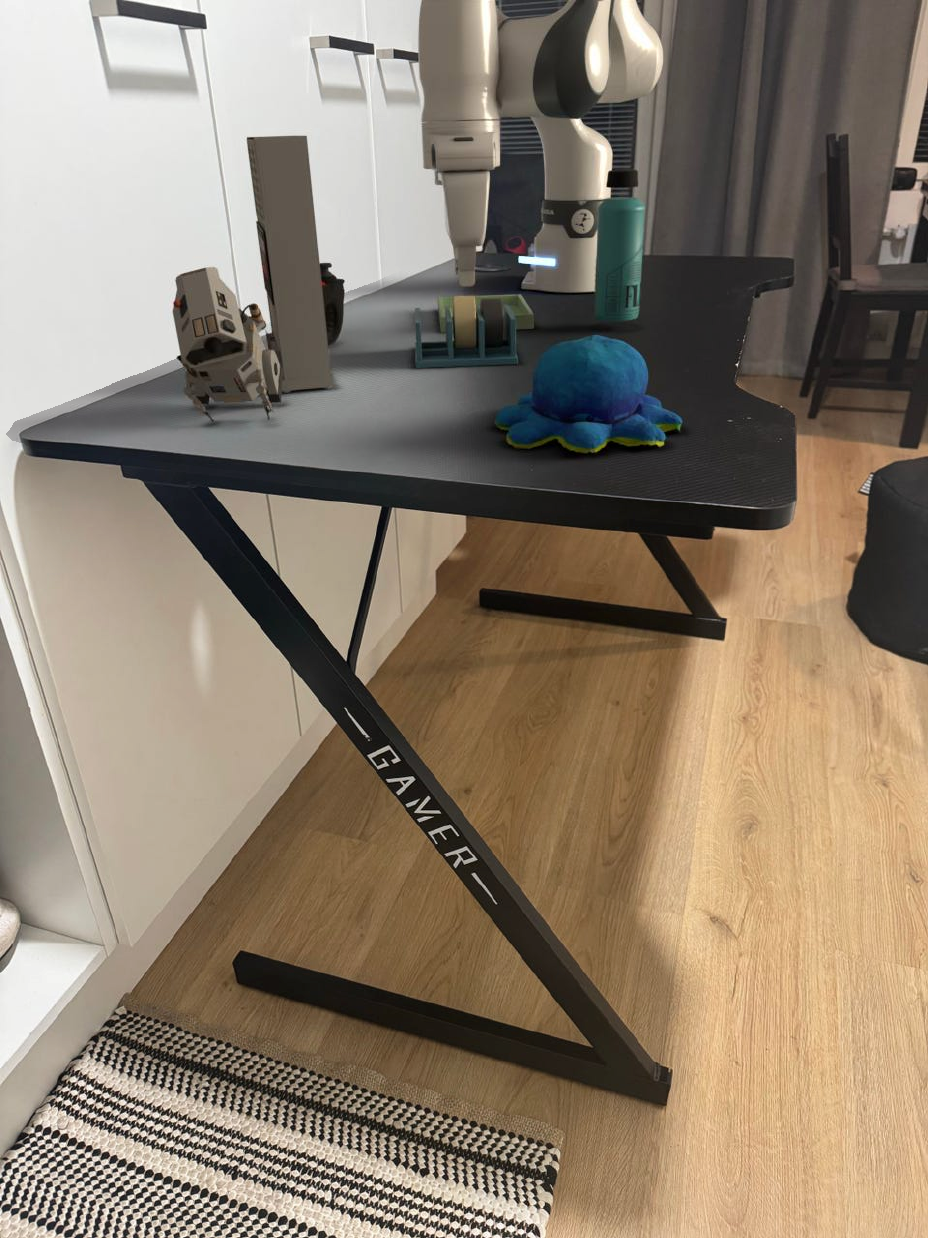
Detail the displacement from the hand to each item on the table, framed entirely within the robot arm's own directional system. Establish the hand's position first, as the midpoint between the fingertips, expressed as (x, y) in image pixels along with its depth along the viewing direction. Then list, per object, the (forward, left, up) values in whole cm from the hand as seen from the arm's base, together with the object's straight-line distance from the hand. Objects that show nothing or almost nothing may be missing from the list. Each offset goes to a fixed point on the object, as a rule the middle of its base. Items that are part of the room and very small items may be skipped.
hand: (464, 279), depth 107 cm
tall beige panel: (+7, -20, -9) cm, 23 cm away
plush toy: (+32, +10, -9) cm, 34 cm away
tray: (-24, +4, -9) cm, 26 cm away
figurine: (+19, -25, -9) cm, 33 cm away
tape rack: (0, 0, -9) cm, 9 cm away
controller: (-9, -19, -9) cm, 23 cm away
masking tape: (0, 0, -5) cm, 5 cm away
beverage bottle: (-14, +22, -9) cm, 28 cm away
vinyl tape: (0, +3, -5) cm, 6 cm away
